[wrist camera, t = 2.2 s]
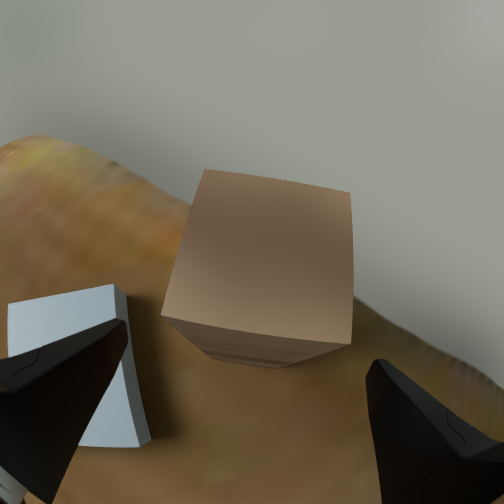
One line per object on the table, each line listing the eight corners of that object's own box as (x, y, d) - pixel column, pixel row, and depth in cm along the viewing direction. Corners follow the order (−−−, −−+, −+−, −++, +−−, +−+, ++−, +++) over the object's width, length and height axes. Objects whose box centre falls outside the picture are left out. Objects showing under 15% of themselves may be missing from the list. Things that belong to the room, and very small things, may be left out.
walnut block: (276, 368, 18) (351, 344, 6) (211, 358, 18) (160, 315, 6) (284, 307, 20) (350, 192, 8) (222, 297, 20) (204, 169, 8)
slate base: (151, 439, 15) (139, 447, 12) (38, 434, 13) (20, 436, 11) (126, 295, 19) (113, 283, 17) (25, 312, 18) (8, 304, 15)
